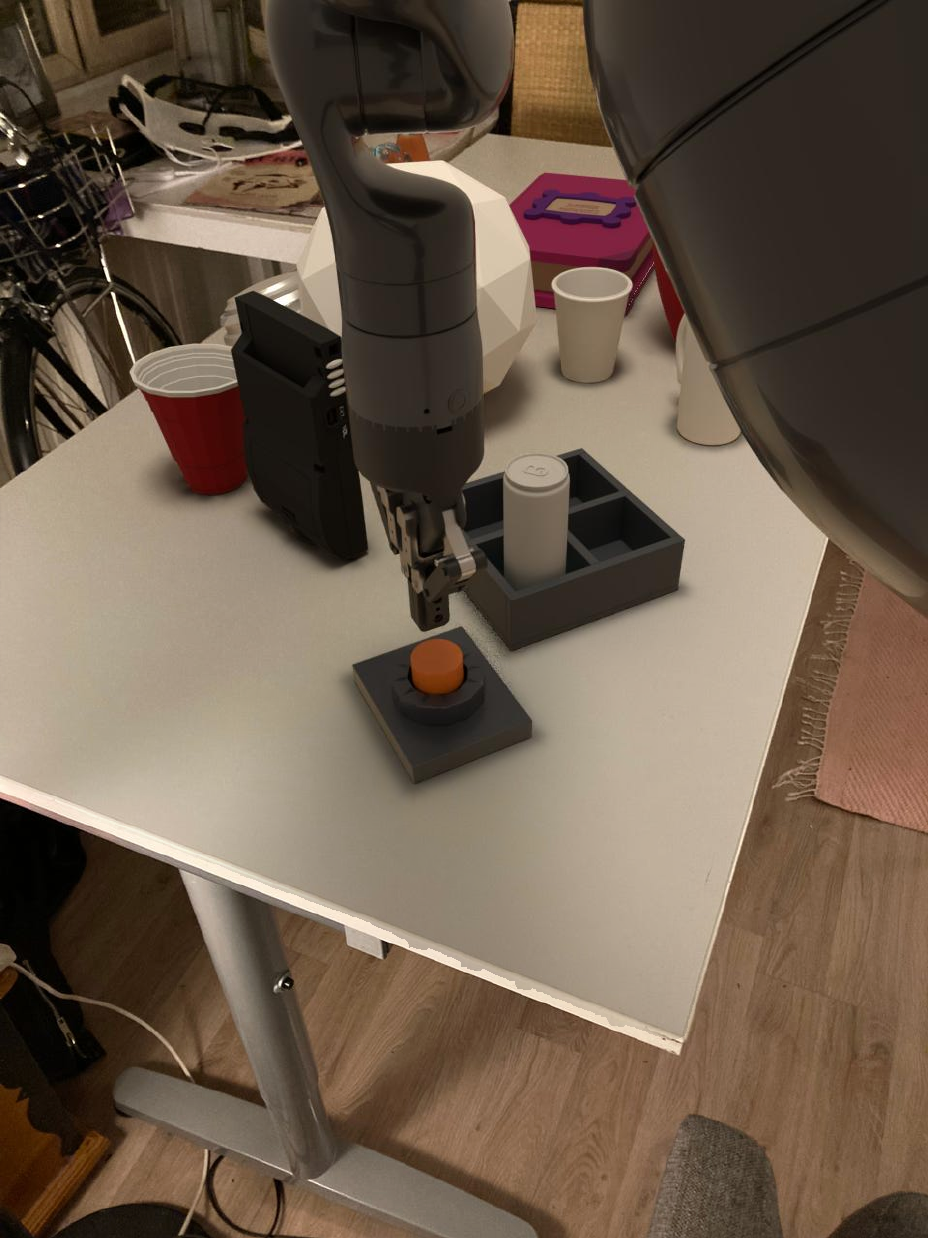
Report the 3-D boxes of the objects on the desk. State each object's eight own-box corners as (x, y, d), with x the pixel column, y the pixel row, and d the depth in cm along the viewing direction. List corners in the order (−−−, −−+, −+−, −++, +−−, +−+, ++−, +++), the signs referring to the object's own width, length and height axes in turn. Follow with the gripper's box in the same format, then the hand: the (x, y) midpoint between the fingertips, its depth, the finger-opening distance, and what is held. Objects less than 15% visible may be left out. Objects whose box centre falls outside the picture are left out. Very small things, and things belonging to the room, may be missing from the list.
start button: (472, 685, 67) (471, 663, 66) (425, 702, 66) (423, 681, 65) (450, 653, 70) (448, 632, 69) (404, 669, 69) (402, 648, 67)
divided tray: (678, 589, 79) (685, 539, 76) (511, 651, 74) (511, 600, 71) (579, 495, 90) (582, 447, 86) (427, 544, 85) (423, 495, 81)
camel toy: (408, 223, 143) (399, 93, 132) (491, 234, 139) (489, 100, 127) (323, 290, 126) (304, 146, 115) (415, 304, 122) (405, 157, 110)
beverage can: (551, 622, 75) (556, 493, 67) (494, 607, 77) (492, 479, 69) (573, 586, 79) (579, 458, 71) (517, 571, 80) (518, 445, 72)
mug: (757, 437, 96) (779, 321, 88) (699, 454, 94) (717, 337, 86) (698, 393, 103) (713, 282, 95) (643, 407, 101) (654, 295, 93)
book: (462, 297, 123) (460, 236, 118) (534, 220, 142) (534, 165, 137) (624, 319, 117) (629, 256, 112) (676, 236, 136) (682, 179, 131)
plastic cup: (298, 465, 95) (279, 351, 87) (221, 522, 88) (193, 404, 80) (216, 437, 99) (190, 325, 91) (137, 489, 93) (102, 373, 85)
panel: (532, 736, 68) (532, 702, 65) (414, 784, 65) (410, 749, 63) (462, 642, 75) (461, 607, 73) (354, 680, 72) (349, 646, 70)
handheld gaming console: (374, 552, 84) (348, 334, 71) (332, 575, 82) (297, 354, 69) (295, 495, 91) (258, 287, 78) (254, 515, 89) (209, 304, 76)
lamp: (533, 427, 87) (440, 142, 77) (232, 491, 104) (121, 263, 93) (594, 343, 105) (526, 102, 94) (329, 409, 121) (245, 209, 111)
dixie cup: (573, 395, 103) (577, 305, 97) (535, 363, 109) (537, 276, 102) (640, 377, 106) (648, 287, 99) (599, 347, 112) (605, 260, 105)
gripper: (308, 353, 56) (342, 583, 68) (400, 463, 47) (420, 706, 59) (426, 325, 59) (439, 552, 70) (534, 424, 50) (528, 665, 61)
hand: (430, 622), depth 65 cm, fingers closed
